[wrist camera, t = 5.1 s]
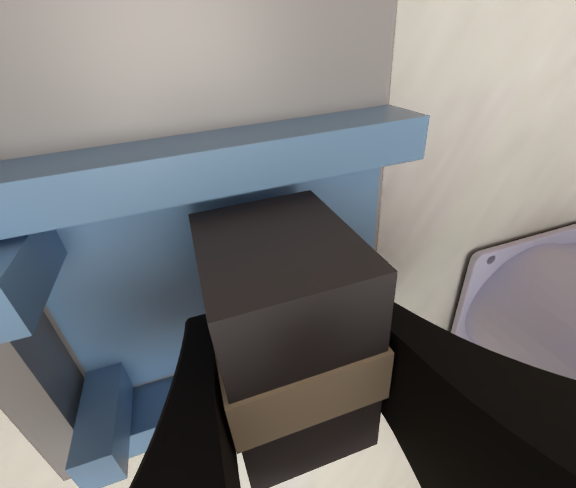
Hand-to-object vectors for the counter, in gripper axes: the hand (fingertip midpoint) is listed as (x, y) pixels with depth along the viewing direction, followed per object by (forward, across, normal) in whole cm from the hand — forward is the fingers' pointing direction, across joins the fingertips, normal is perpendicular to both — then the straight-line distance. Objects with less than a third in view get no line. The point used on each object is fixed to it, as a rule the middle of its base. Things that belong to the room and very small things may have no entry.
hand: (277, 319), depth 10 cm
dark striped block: (+1, 0, 0) cm, 1 cm away
